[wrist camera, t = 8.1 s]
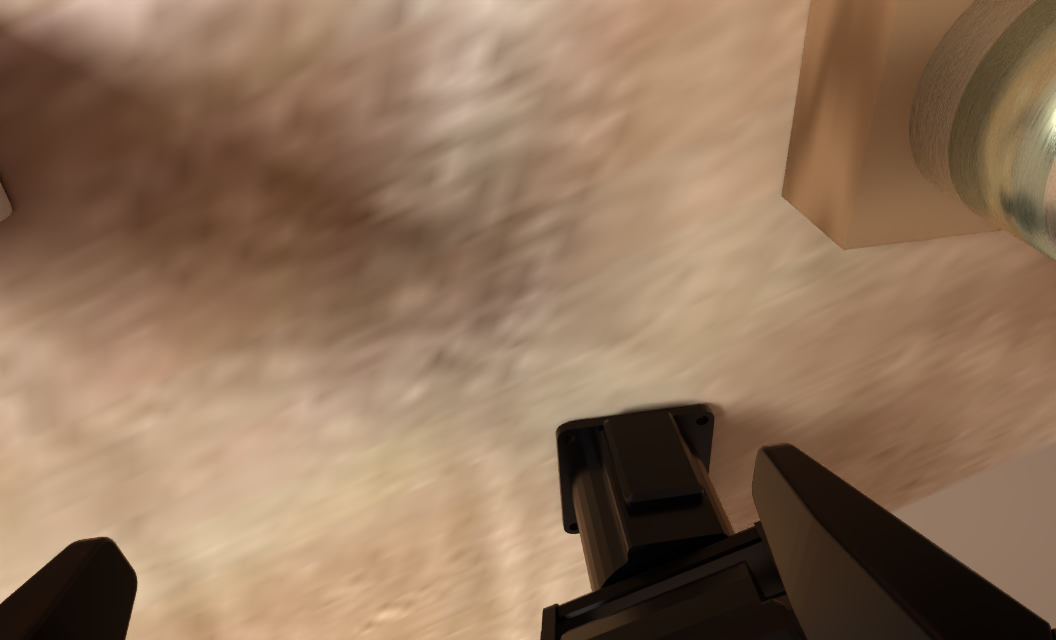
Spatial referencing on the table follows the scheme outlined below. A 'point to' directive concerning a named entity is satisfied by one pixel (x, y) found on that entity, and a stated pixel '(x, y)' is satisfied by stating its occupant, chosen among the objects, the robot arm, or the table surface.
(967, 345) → the table surface
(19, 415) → the table surface
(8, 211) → the coffee box
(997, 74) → the tin
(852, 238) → the block
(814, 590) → the robot arm
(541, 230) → the table surface
